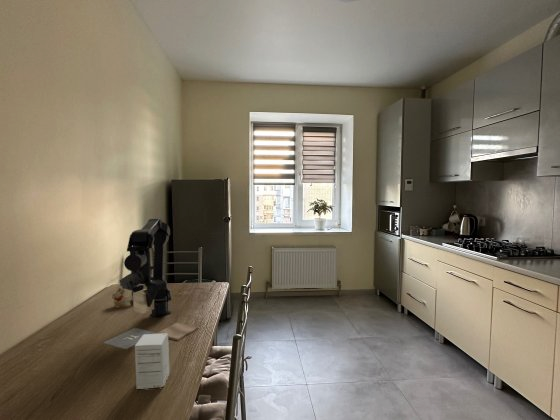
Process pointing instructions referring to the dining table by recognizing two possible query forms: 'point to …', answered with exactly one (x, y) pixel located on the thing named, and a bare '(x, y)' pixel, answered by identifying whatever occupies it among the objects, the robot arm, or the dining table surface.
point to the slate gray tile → (128, 338)
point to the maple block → (141, 302)
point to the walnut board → (178, 331)
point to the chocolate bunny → (120, 299)
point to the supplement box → (152, 360)
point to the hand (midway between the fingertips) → (144, 305)
